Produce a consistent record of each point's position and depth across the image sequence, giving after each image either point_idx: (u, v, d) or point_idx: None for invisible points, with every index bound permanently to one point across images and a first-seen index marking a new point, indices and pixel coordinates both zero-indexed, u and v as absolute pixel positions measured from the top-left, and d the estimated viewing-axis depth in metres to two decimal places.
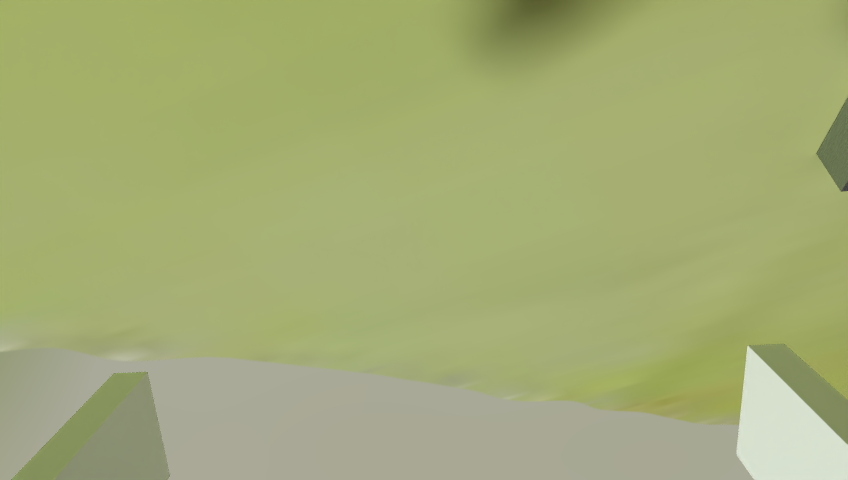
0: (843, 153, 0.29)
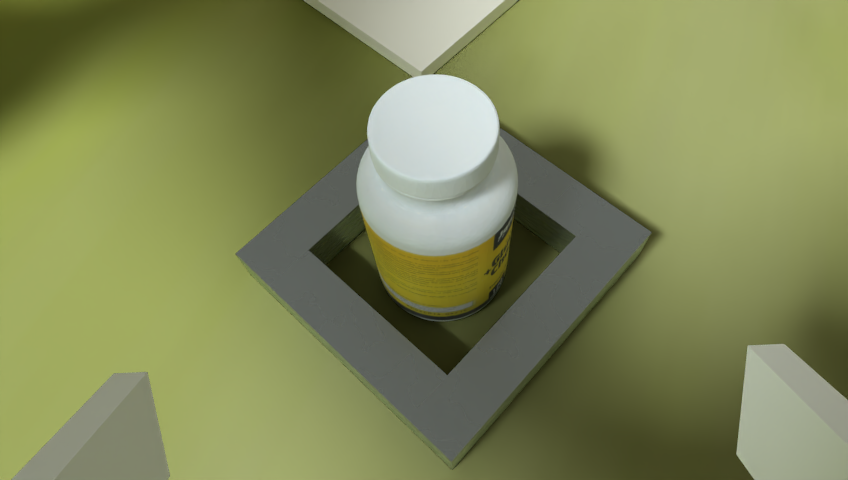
0: (427, 442, 0.27)
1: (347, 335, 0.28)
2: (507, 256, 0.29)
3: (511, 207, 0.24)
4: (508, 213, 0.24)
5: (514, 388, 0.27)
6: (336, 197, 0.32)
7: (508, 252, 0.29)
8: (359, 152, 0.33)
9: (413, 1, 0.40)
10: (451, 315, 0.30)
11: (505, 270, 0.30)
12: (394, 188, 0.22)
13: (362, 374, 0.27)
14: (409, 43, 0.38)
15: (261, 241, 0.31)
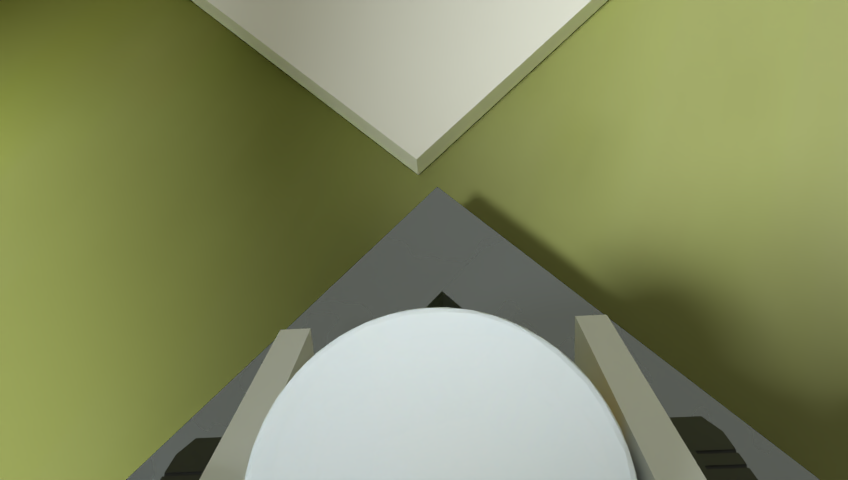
0: None
1: None
2: None
3: None
4: None
5: None
6: None
7: None
8: (302, 326, 0.18)
9: (404, 38, 0.25)
10: None
11: None
12: None
13: None
14: (397, 109, 0.23)
15: None
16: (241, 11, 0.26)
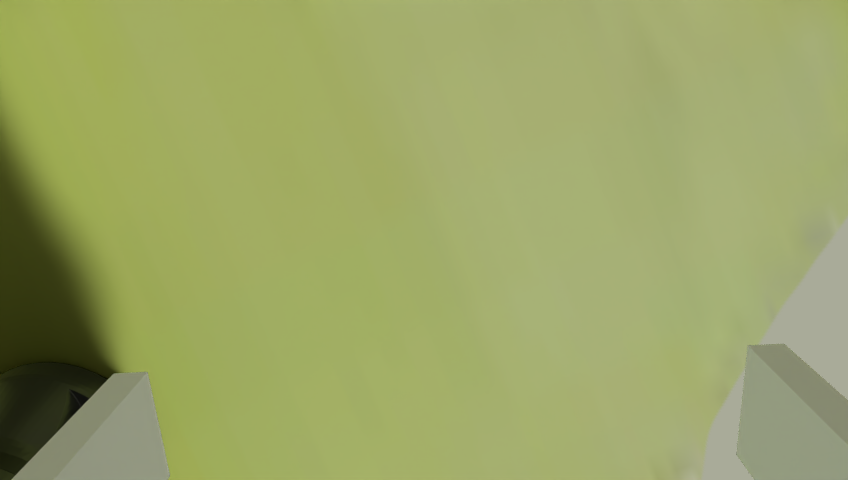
0: None
1: None
2: None
3: None
4: None
5: None
6: None
7: None
8: None
9: None
10: None
11: None
12: None
13: None
14: None
15: None
16: None
